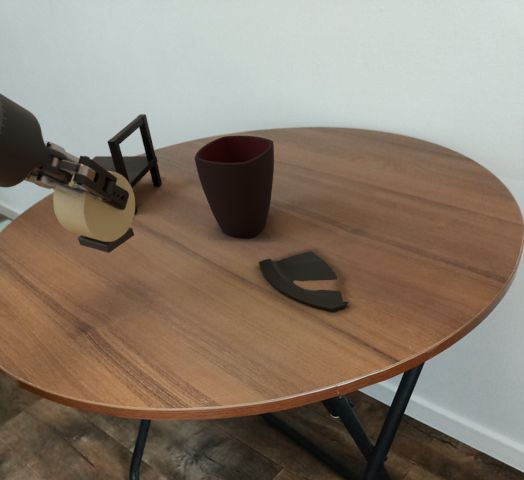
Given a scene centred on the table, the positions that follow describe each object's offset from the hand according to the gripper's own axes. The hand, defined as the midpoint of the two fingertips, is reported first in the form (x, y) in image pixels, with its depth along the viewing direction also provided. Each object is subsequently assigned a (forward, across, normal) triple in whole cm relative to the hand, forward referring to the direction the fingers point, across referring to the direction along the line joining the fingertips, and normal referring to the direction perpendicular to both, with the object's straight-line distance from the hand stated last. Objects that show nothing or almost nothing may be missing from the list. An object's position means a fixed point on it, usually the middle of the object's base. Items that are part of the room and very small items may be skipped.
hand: (107, 197), depth 60 cm
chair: (+24, +22, -5) cm, 33 cm away
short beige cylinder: (+2, 0, +4) cm, 5 cm away
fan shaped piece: (+16, -20, +3) cm, 26 cm away
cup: (+25, -4, -6) cm, 26 cm away
